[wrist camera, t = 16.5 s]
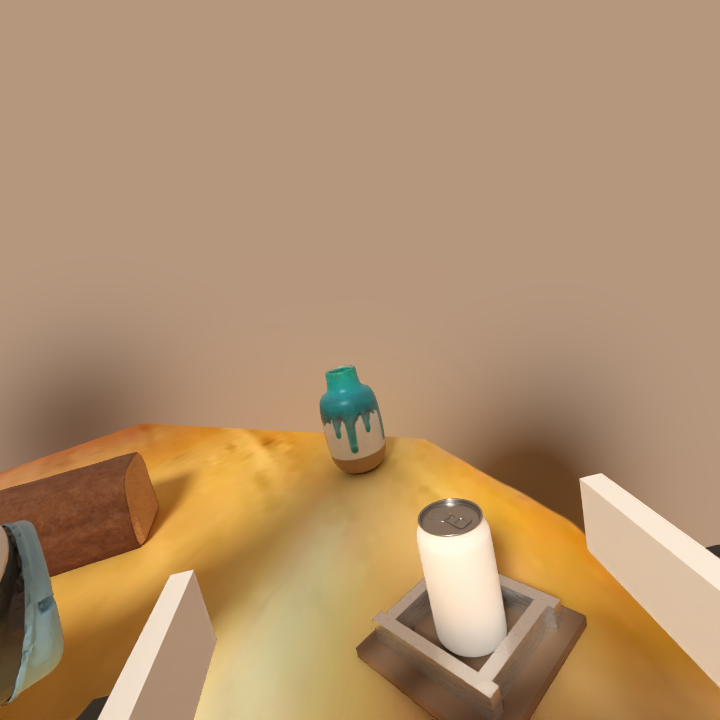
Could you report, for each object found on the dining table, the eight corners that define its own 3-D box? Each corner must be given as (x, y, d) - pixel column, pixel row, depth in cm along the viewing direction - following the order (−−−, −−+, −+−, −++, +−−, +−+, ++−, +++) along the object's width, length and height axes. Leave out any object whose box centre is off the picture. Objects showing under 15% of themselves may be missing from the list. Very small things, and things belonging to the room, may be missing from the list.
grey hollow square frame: (378, 641, 42) (372, 619, 42) (449, 570, 49) (445, 551, 49) (495, 725, 32) (490, 698, 32) (563, 623, 40) (559, 599, 39)
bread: (-71, 578, 76) (-104, 509, 74) (162, 506, 85) (140, 441, 82) (-147, 646, 62) (-191, 563, 59) (145, 551, 70) (117, 474, 67)
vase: (373, 485, 74) (348, 377, 70) (323, 480, 80) (298, 380, 76) (400, 456, 83) (379, 358, 79) (354, 453, 89) (332, 362, 85)
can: (463, 594, 45) (443, 489, 43) (521, 624, 40) (502, 507, 38) (422, 636, 41) (397, 523, 39) (481, 675, 36) (457, 548, 34)
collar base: (358, 656, 42) (356, 648, 42) (452, 565, 51) (450, 557, 51) (499, 769, 31) (497, 757, 30) (586, 625, 40) (585, 616, 40)
